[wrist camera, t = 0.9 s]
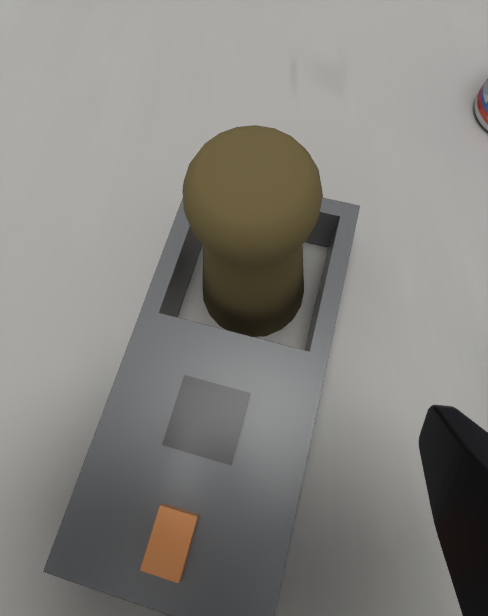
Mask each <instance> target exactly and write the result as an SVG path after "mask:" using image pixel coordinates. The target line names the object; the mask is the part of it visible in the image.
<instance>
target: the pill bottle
mask: <svg viewBox="0 0 488 616" xmlns="http://www.w3.org/2000/svg"><path fill="white" fill-rule="evenodd" d="M475 113H476V116H477V118H478V120H479V122H480V123H481V125H482V126H483V127H484V128H485V129H486V130H487V131H488V79H487V80H486V82H485V83H484V85H483V86H482V88H481V90H480V91H479V93H478V95H477V97H476V100H475Z"/></svg>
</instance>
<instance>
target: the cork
mask: <svg viewBox="0 0 488 616" xmlns="http://www.w3.org/2000/svg"><path fill="white" fill-rule="evenodd" d="M322 198H323V194H322V187H321V181H320V176H319V170H318V168H317V166H316V164H315V163H314V161H313V159H312V158H311V156H310V154H309V153H308V152H307V150H306V149H305V148H304V147H303V146H302V145H301V144H299V143H298V142H297V141H296V140H295V139H294V138H293V137H291V136H290V135H288V134H285V133H283V132H281V131H279V130H276V129H274V128H268V127H262V126H256V125H255V126H244V127H236V128H233V129H230V130H228V131H225V132H222V133H219V134H218V135H217V136H215V137H214V138H212V139H211V140H210V141H208V142H207V143H205V144H204V146H203V147H202V148H201V149H200V151H199V152H198V153H197V155H196V156H195V157H194V159H193V160H192V161H191V163H190V164H189V167H188V170H187V173H186V176H185V179H184V184H183V206H184V212H185V215H186V218H187V220H188V222H189V225H190V227H191V229H192V231H193V234H194V235H195V236H196V237H197V239H198V240H199V241H200V242H201V243H202V244H203V300H204V303H205V305H206V307H207V310H208V312H209V314H210V315H211V317H212V318H213V319H214V320H215V321H216V322H217V323H218V324H219V326H221V327H223V328H224V329H226V330H228V331H231V332H235V333H239V334H243V335H247V336H250V337H259V336H267V335H269V334H272V333H274V332H276V331H279V330H281V329H282V328H284V327H285V326H286V325H287V324H288V323H289V322H290V321H292V320H293V319H294V317H295V315H296V313H297V312H298V310H299V308H300V307H301V303H302V298H303V293H304V279H303V248H302V244H303V243H304V242H305V241H306V240H307V238H308V237H309V235H310V233H311V232H312V230H313V229H314V227H315V225H316V224H317V220H318V217H319V213H320V208H321V203H322Z"/></svg>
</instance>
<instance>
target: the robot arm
mask: <svg viewBox="0 0 488 616" xmlns="http://www.w3.org/2000/svg"><path fill="white" fill-rule="evenodd" d="M419 450H420V455H421V460H422V465H423V470H424V475H425V480H426V485H427V490H428V495H429V500H430V505H431V510H432V515H433V519H434V524H435V527H436V531H437V534H438V538H439V541H440V544H441V547H442V551H443V554H444V557H445V560H446V563H447V567H448V570H449V573H450V576H451V579H452V582H453V586H454V589H455V592H456V595H457V598H458V602H459V605H460V608H461V611H462V614H463V616H488V432H486V431H485V430H484V429H482V428H481V427H480V426H478V425H477V424H476V423H475V422H473V421H472V420H471V419H469V418H468V417H467V416H465V415H464V414H463V413H461V412H460V411H459V410H458V409H456V408H454V407H452V406H442V405H432V406H430V408H429V409H428V412H427V415H426V418H425V421H424V424H423V427H422V430H421V433H420V436H419Z"/></svg>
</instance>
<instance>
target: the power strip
mask: <svg viewBox="0 0 488 616" xmlns="http://www.w3.org/2000/svg"><path fill="white" fill-rule="evenodd" d="M359 208H360V206H359V205H354V204H350V203H345V202H340V201H336V200H331V199H326V198H322V203H321V208H320V213H319V217H318V220H317V224H316V225H315V227H314V229H313V230H312V232H311V233H310V235H309V237H308V238H307V240H306V241H305V242H309V243H313V244H317V245H322V246H326V247H329V248H328V252H327V256H326V261H325V265H324V269H323V274H322V278H321V283H320V287H319V291H318V296H317V300H316V304H315V309H314V313H313V318H312V322H311V326H310V331H309V335H308V339H307V344H306V348H305V350H301V349H297V348H293V347H289V346H285V345H281V344H278V343H274V342H270V341H266V340H262V339H258V338H254V337H250V336H247V335H243V334H239V333H235V332H231V331H227V330H223V329H219V328H216V327H212V326H208V325H204V324H200V323H196V322H192V321H188V320H185V319H181V318H177V317H178V314H179V311H180V308H181V305H182V302H183V299H184V296H185V293H186V290H187V287H188V284H189V281H190V279H191V276H192V273H193V270H194V267H195V264H196V261H197V258H198V255H199V252H200V249H201V246H202V243H201V242H200V241H199V240H198V239H197V237H196V236H195V235H194V234H193V231H192V229H191V227H190V225H189V222H188V220H187V218H186V215H185V212H184V206H183V199H182V201H181V204H180V207H179V209H178V212H177V215H176V217H175V220H174V223H173V226H172V228H171V231H170V234H169V236H168V239H167V242H166V244H165V247H164V250H163V252H162V255H161V258H160V260H159V263H158V266H157V268H156V271H155V274H154V276H153V279H152V282H151V284H150V287H149V290H148V292H147V295H146V298H145V300H144V303H143V306H142V308H141V311H140V314H139V317H138V319H137V322H136V325H135V327H134V330H133V333H132V335H131V338H130V341H129V343H128V346H127V349H126V351H125V354H124V357H123V359H122V362H121V365H120V367H119V370H118V373H117V375H116V378H115V381H114V383H113V386H112V389H111V391H110V394H109V397H108V399H107V402H106V405H105V408H104V410H103V413H102V416H101V418H100V421H99V424H98V426H97V429H96V432H95V434H94V437H93V440H92V442H91V445H90V448H89V450H88V453H87V456H86V458H85V461H84V464H83V466H82V469H81V472H80V474H79V477H78V480H77V482H76V485H75V488H74V490H73V493H72V496H71V499H70V501H69V504H68V507H67V509H66V512H65V515H64V517H63V520H62V523H61V525H60V528H59V531H58V533H57V536H56V539H55V541H54V544H53V547H52V549H51V552H50V555H49V557H48V560H47V563H46V565H45V568H44V571H43V572H45V573H48V574H51V575H54V576H57V577H60V578H63V579H65V580H68V581H71V582H74V583H77V584H80V585H83V586H86V587H89V588H92V589H95V590H98V591H100V592H103V593H106V594H109V595H112V596H115V597H118V598H121V599H124V600H127V601H130V602H132V603H135V604H138V605H141V606H144V607H147V608H150V609H153V610H156V611H159V612H162V613H165V614H167V615H170V616H275V611H276V606H277V602H278V597H279V592H280V587H281V582H282V578H283V573H284V568H285V563H286V558H287V554H288V549H289V544H290V539H291V534H292V530H293V525H294V520H295V515H296V510H297V506H298V501H299V496H300V491H301V486H302V482H303V477H304V472H305V467H306V463H307V458H308V453H309V448H310V443H311V439H312V434H313V429H314V424H315V419H316V415H317V410H318V405H319V400H320V395H321V391H322V386H323V381H324V376H325V371H326V367H327V362H328V357H329V352H330V347H331V343H332V338H333V333H334V328H335V323H336V319H337V314H338V309H339V304H340V299H341V295H342V290H343V285H344V280H345V275H346V271H347V266H348V261H349V256H350V251H351V247H352V242H353V237H354V232H355V227H356V223H357V218H358V213H359Z"/></svg>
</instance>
